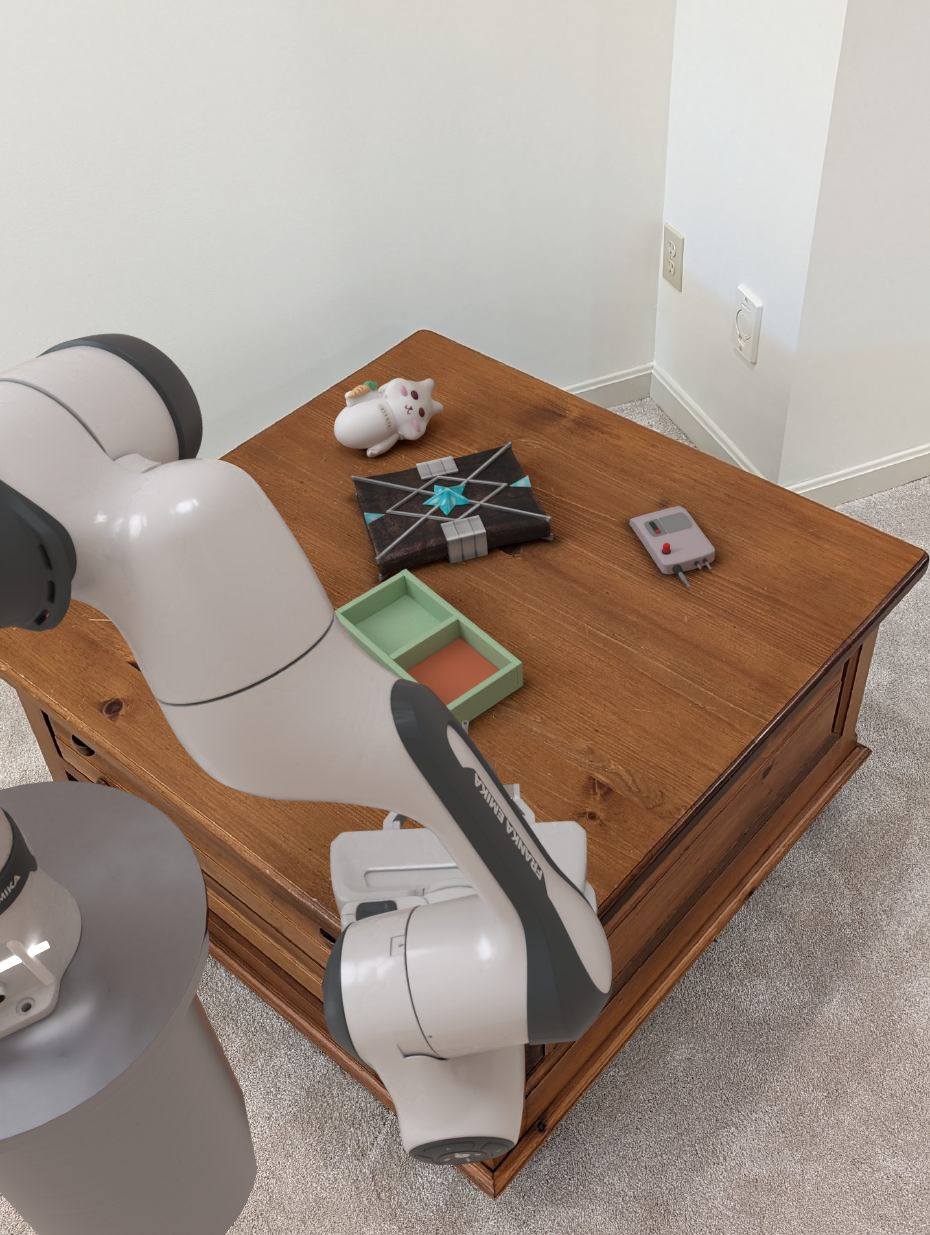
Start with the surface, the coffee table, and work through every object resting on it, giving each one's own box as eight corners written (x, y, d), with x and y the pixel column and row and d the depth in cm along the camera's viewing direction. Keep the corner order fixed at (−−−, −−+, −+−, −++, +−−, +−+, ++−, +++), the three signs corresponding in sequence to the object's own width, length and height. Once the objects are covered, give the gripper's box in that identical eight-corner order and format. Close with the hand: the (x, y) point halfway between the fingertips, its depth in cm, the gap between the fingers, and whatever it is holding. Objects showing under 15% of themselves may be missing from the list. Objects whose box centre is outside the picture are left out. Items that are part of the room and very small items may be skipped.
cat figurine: (324, 399, 154) (430, 356, 157) (316, 399, 162) (417, 357, 164) (353, 469, 157) (456, 425, 159) (343, 465, 165) (442, 423, 167)
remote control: (673, 502, 149) (674, 483, 147) (730, 582, 138) (733, 562, 136) (623, 515, 148) (623, 496, 146) (677, 597, 137) (679, 577, 135)
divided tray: (447, 737, 125) (444, 714, 123) (335, 635, 137) (330, 613, 135) (523, 685, 129) (522, 662, 127) (408, 591, 141) (405, 568, 139)
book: (379, 582, 143) (374, 551, 139) (352, 498, 155) (346, 467, 151) (554, 541, 146) (553, 509, 142) (513, 461, 158) (512, 430, 154)
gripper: (600, 909, 87) (584, 760, 97) (319, 922, 88) (332, 772, 98) (599, 955, 91) (584, 807, 101) (331, 967, 92) (342, 819, 102)
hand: (458, 790), depth 100 cm, fingers closed on beverage cup, 7 cm apart
